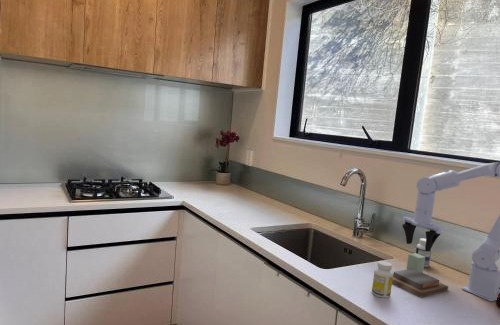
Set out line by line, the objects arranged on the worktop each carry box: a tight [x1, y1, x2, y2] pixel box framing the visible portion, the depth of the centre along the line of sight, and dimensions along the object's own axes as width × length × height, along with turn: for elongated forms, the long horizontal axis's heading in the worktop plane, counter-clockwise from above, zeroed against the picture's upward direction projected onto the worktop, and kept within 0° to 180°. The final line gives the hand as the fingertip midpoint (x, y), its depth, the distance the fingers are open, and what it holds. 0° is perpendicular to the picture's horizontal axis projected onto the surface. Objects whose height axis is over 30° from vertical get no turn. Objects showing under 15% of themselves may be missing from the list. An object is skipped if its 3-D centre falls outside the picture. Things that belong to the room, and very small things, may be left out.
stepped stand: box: [392, 268, 449, 298], centre depth 126 cm, size 14×14×3 cm
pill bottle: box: [415, 237, 433, 268], centre depth 147 cm, size 5×5×10 cm
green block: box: [405, 252, 425, 273], centre depth 138 cm, size 4×4×6 cm
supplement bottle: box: [371, 260, 394, 299], centre depth 115 cm, size 5×5×10 cm
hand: (418, 247), depth 137 cm, fingers open, 7 cm apart
